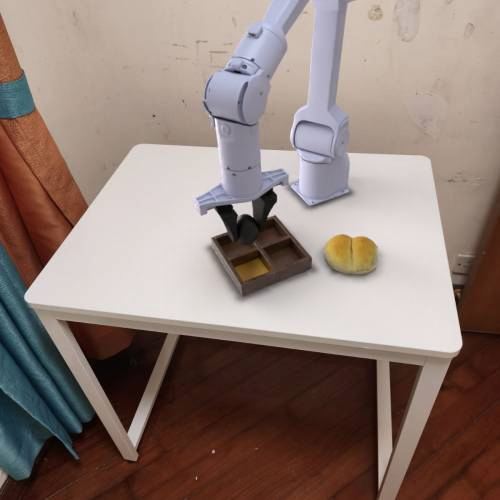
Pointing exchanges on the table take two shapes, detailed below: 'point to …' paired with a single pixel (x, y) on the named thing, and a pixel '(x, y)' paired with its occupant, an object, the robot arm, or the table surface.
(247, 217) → the egg
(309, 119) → the robot arm
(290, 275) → the brown compartment tray
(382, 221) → the table surface
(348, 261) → the bread roll
